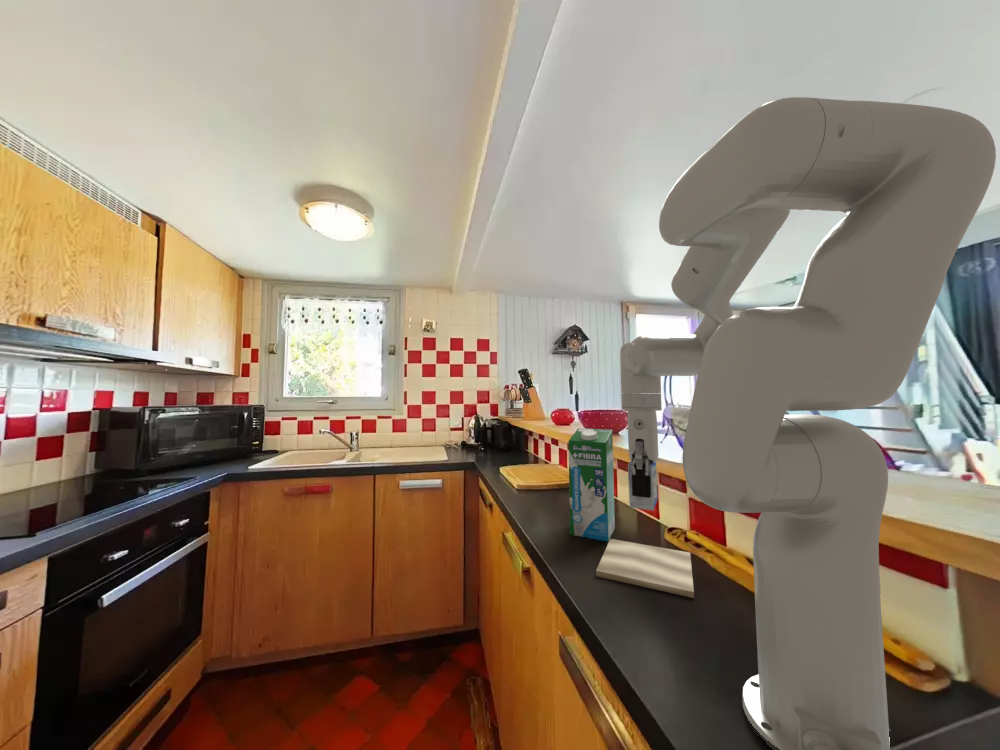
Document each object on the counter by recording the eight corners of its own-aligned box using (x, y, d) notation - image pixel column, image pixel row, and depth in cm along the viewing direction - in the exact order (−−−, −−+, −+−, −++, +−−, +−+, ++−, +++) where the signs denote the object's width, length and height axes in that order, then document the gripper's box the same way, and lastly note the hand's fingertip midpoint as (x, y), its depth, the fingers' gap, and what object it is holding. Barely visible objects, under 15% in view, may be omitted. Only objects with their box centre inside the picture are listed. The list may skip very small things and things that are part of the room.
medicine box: (654, 511, 64) (652, 464, 65) (628, 508, 67) (627, 462, 67) (657, 500, 71) (656, 457, 72) (634, 497, 73) (633, 455, 74)
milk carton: (569, 534, 84) (568, 430, 85) (579, 522, 92) (577, 427, 93) (608, 542, 80) (605, 432, 81) (614, 528, 88) (612, 429, 89)
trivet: (694, 598, 58) (693, 591, 58) (596, 575, 65) (596, 570, 65) (690, 557, 72) (690, 552, 72) (610, 543, 79) (610, 538, 79)
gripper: (659, 404, 61) (662, 506, 60) (662, 402, 76) (665, 482, 75) (615, 404, 64) (617, 500, 63) (626, 401, 80) (628, 479, 79)
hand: (643, 490), depth 69 cm, fingers closed on medicine box, 8 cm apart
